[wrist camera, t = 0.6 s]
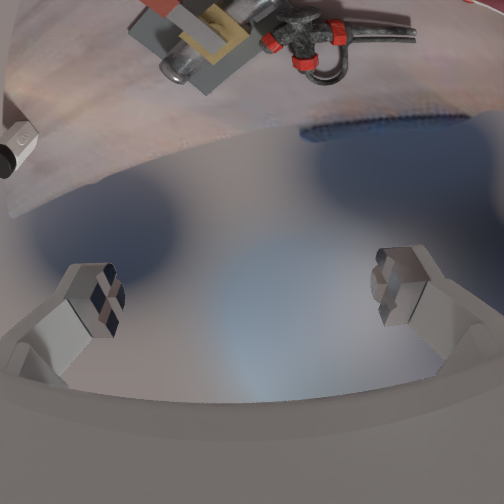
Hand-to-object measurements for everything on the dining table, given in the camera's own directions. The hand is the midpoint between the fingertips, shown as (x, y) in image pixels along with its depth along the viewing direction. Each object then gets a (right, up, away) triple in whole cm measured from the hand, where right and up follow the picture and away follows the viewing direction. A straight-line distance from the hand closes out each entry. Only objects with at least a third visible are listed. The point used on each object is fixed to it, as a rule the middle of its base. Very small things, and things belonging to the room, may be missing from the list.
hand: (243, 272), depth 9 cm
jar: (-53, +29, +42) cm, 74 cm away
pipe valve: (-5, +36, +28) cm, 46 cm away
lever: (-8, +32, +20) cm, 38 cm away
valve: (+14, +34, +29) cm, 47 cm away
